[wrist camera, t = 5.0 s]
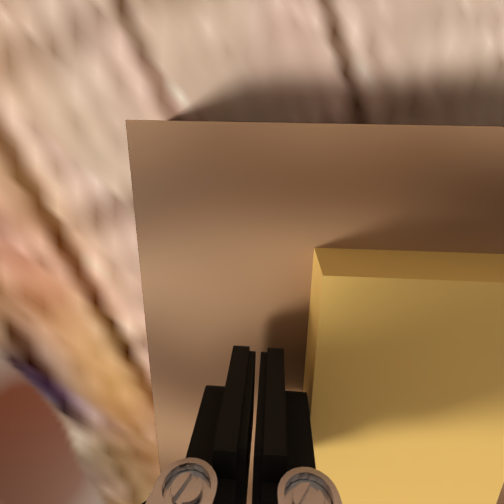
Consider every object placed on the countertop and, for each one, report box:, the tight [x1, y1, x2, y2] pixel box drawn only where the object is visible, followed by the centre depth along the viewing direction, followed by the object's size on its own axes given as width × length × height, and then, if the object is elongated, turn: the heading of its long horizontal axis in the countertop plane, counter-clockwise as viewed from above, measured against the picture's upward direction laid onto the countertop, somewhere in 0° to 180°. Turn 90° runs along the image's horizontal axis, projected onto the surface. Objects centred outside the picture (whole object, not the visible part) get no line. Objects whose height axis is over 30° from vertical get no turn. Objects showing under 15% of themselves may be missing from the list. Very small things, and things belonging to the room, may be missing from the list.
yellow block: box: [303, 248, 504, 504], centre depth 11 cm, size 9×6×2 cm, turn 179°
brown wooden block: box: [126, 120, 504, 504], centre depth 14 cm, size 16×14×4 cm
